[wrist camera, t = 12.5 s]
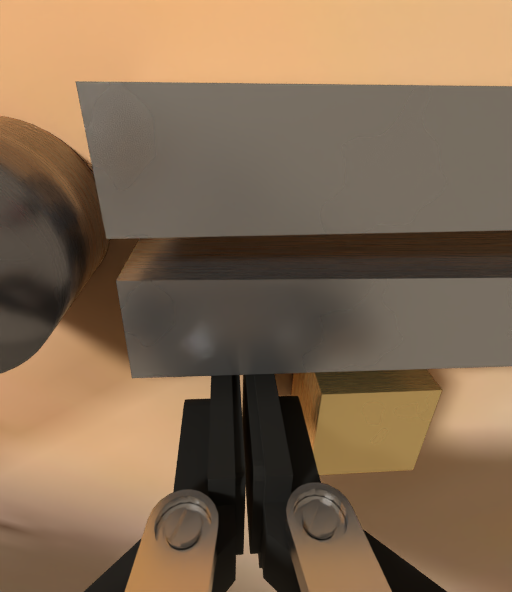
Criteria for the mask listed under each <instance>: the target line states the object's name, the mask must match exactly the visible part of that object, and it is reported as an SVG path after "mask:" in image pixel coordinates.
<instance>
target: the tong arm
mask: <svg viewBox="0 0 512 592" xmlns="http://www.w3.org/2000/svg"><path fill="white" fill-rule="evenodd" d="M76 86H77V91H78V96H79V101H80V106H81V111H82V116H83V121H84V127H85V132H86V137H87V142H88V147H89V152H90V157H91V162H92V167H93V172H94V177H95V183H96V188H97V193H98V198H99V203H100V208H101V213H102V218H103V223H104V228H105V234H106V239H126V238H173V237H220V236H267V235H315V234H362V233H409V232H456V231H503V230H512V86H425V85H337V84H249V83H161V82H76Z"/></svg>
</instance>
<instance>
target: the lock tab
mask: <svg viewBox="0 0 512 592" xmlns="http://www.w3.org/2000/svg"><path fill="white" fill-rule="evenodd" d="M441 392H442V389H441V388H440V387H439V385H438V384H437V383H436V381H435V380H434V379H433V377H432V376H431V375H430V373H429V372H428V371H427V369H409V370H377V371H345V372H313V373H293V382H292V392H291V396H298V397H299V400H300V403H301V407H302V411H303V415H304V419H305V423H306V426H307V430H308V434H309V438H310V442H311V446H312V450H313V454H314V458H315V462H316V466H317V470H318V474H319V475H334V474H352V473H369V472H387V471H404V470H413V469H414V466H415V463H416V461H417V458H418V455H419V452H420V450H421V447H422V444H423V441H424V439H425V436H426V433H427V430H428V428H429V425H430V422H431V419H432V417H433V414H434V411H435V408H436V406H437V403H438V400H439V397H440V395H441Z"/></svg>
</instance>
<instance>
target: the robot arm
mask: <svg viewBox="0 0 512 592" xmlns="http://www.w3.org/2000/svg"><path fill="white" fill-rule="evenodd" d="M245 487H246V498H247V514H248V530H249V546H250V554H255V553H258V556H259V568H263V578H264V579H265V580H266V581H267V582H268V583H269V584H270V585H271V586H272V587H273V588H274V589H275V590H276V591H277V592H447V591H445V590H444V589H443V588H441V587H440V586H439V585H437V584H436V583H435V582H433V581H432V580H430V579H429V578H428V577H426V576H425V575H424V574H422V573H421V572H420V571H418V570H417V569H416V568H414V567H413V566H412V565H410V564H409V563H408V562H406V561H405V560H403V559H402V558H401V557H399V556H398V555H397V554H395V553H394V552H393V551H391V550H390V549H389V548H387V547H386V546H385V545H383V544H382V543H381V542H379V541H378V540H377V539H375V538H374V537H372V536H371V535H370V534H368V533H367V532H366V531H364V530H363V529H362V527H361V525H360V523H359V520H358V518H357V516H356V514H355V512H354V510H353V508H352V506H351V504H350V503H349V501H348V500H347V498H346V497H345V496H344V495H343V494H342V493H341V492H340V491H338V490H337V489H335V488H333V487H331V486H330V485H327V484H323V483H321V481H320V477H319V474H318V470H317V466H316V462H315V458H314V454H313V450H312V446H311V442H310V438H309V434H308V430H307V426H306V423H305V419H304V415H303V411H302V407H301V403H300V400H299V397H298V396H278V391H277V386H276V381H275V375H274V374H249V375H243V412H242V407H241V391H240V376H239V375H217V376H211V399H188V400H185V402H184V409H183V417H182V425H181V434H180V442H179V450H178V459H177V467H176V475H175V484H174V492H173V493H171V494H169V495H167V496H166V497H164V498H163V499H162V500H160V501H159V503H158V504H157V505H156V506H155V507H154V508H153V510H152V512H151V514H150V516H149V518H148V521H147V524H146V527H145V530H144V533H143V536H142V539H140V540H139V541H138V542H137V543H136V544H135V545H134V546H133V547H132V548H131V549H130V550H129V551H127V552H126V553H125V554H124V555H123V556H122V557H121V558H120V559H119V560H118V561H117V562H116V563H115V564H113V565H112V566H111V567H110V568H109V569H108V570H107V571H106V572H105V573H104V574H103V575H102V576H100V577H99V578H98V579H97V580H96V581H95V582H94V583H93V584H92V585H91V586H90V587H89V588H87V589H86V590H85V591H84V592H226V591H227V590H228V589H229V587H230V586H231V585H232V584H233V582H234V581H235V574H236V555H241V554H243V548H244V518H245Z"/></svg>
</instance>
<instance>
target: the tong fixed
mask: <svg viewBox="0 0 512 592" xmlns="http://www.w3.org/2000/svg"><path fill="white" fill-rule="evenodd" d="M109 241H110V239H106V234H105V228H104V223H103V218H102V213H101V208H100V203H99V198H98V193H97V188H96V183H95V177H94V174H93V172H92V171H91V169H90V168H89V167H88V166H87V165H86V163H85V162H84V161H83V160H82V159H81V157H79V156H78V155H77V154H76V153H75V152H74V151H73V150H72V149H71V148H70V147H69V146H67V145H66V144H65V143H64V142H62V141H61V140H60V139H58V138H57V137H55V136H54V135H52V134H50V133H49V132H47V131H45V130H43V129H41V128H39V127H37V126H35V125H33V124H30V123H27V122H24V121H21V120H18V119H14V118H9V117H4V116H0V373H4V372H6V371H8V370H11V369H13V368H15V367H17V366H19V365H20V364H22V363H24V362H25V361H27V360H28V359H29V358H31V357H32V356H33V355H34V354H35V353H36V352H37V351H38V350H39V349H40V348H41V347H42V345H43V344H44V343H45V342H46V340H47V339H48V337H49V336H50V335H51V333H52V332H53V330H54V329H55V327H56V326H57V325H58V323H59V322H60V320H61V319H62V317H63V316H64V315H65V313H66V312H67V310H68V309H69V307H70V306H71V305H72V303H73V302H74V300H75V299H76V297H77V296H78V295H79V293H80V292H81V290H82V289H83V287H84V286H85V285H86V283H87V282H88V280H89V279H90V277H91V276H92V275H93V273H94V272H95V270H96V269H97V267H98V266H99V265H100V263H101V261H102V260H103V258H104V256H105V254H106V251H107V249H108V246H109ZM116 284H117V290H118V296H119V302H120V308H121V314H122V320H123V326H124V332H125V338H126V344H127V350H128V357H129V363H130V369H131V375H132V378H153V377H185V376H217V375H249V374H281V373H313V372H345V371H377V370H409V369H441V368H472V367H504V366H512V231H456V232H409V233H362V234H315V235H267V236H220V237H173V238H139V240H138V242H137V244H136V246H135V247H134V249H133V251H132V253H131V255H130V256H129V258H128V260H127V262H126V264H125V265H124V267H123V269H122V271H121V273H120V274H119V276H118V278H117V280H116Z"/></svg>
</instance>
